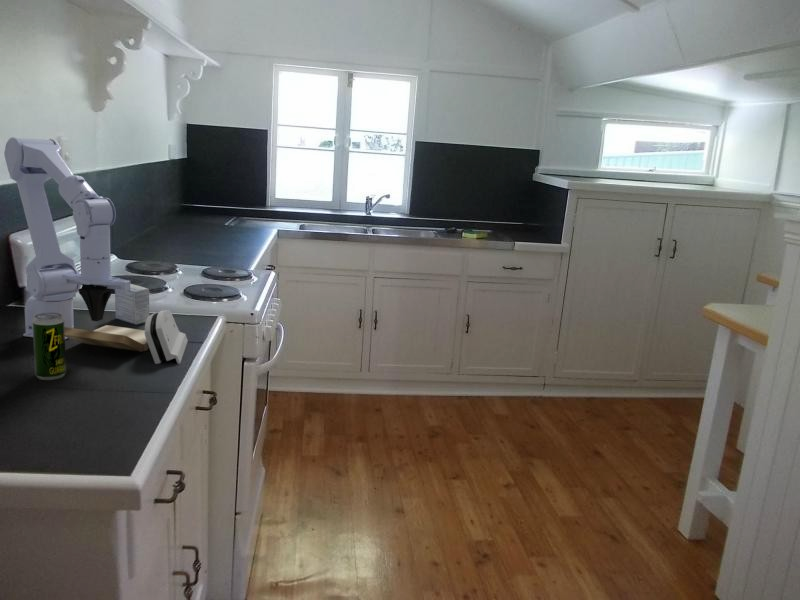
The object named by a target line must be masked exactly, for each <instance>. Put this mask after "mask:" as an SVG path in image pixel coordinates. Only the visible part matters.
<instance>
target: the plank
mask: <svg viewBox="0 0 800 600" xmlns="http://www.w3.org/2000/svg"><path fill="white" fill-rule="evenodd" d="M64 329H65V337H67V338H68V339H70V340H71V341H72V340H73V341H75V342H77V343H80V344H87V345H92V346H93V345H94V346H100V347H106V348H113V349H121V350H127V351H128V350H129V351H134V352H140V353H142V352H143V351H142V349H143V346H144V344H142V343H139V342H137V341H135V340H133V339H131V338H129V337H127V336H124V335H117V334H110V333H103V332H96V331H94V330H89V329H82V328H75V327H74V328H68V327H64Z"/></svg>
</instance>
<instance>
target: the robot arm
mask: <svg viewBox="0 0 800 600" xmlns="http://www.w3.org/2000/svg"><path fill="white" fill-rule="evenodd" d="M3 153H4V159H5V164H6V167H7V170H8V173H9V177H10V179H12V180H13V181H14V182H16V185H17V188H18V191H19V196H20V197H19V198H20V201H21V204H22V207H23V211H24V216H25V220H26V222H27V227H28V231H29V235H30V238H31V242H32V247H33V250H34V253H35V256H34V258H32V260H31V261H29V263H27V265H26V266H25V275H26V288H27V290H28V293H29V294H30V295H31V296H30V297H28V298H27V300H26V302H25V304H24V305H25V306H24V320H25V321H24V323H25V324H24V325H25V333H23V335H22V336H23V337H29V338H33V320H34V316H35V315H37V314H41V313H59V314H62V315H63V319H64V327H68V328H75V327H74V325H75V324H74V298H75V297H76V296H77V293H79V295H80V296H81V298H82V299H83V302H84V303H85V305H86V308H87V311H88V313H89V317H90V320H91V321H92V322H99V321H102V320H103V319H104V313H105V310H106V307H107V304H108V302H109V300H110V297H111V296H112V294H113V292H115V289H117V290H121V291H128V290H130V284H131V280H128V279H127V280H126V279H123V278H118V277H114V276H112V273H111V271H112V270H111V268H112V267H111V265H112V263H111V226H113V225H114V223H115V222H116V218H117V213H116V212H117V210H116V207H115V205H114V202H113V201H112V200H111V199H110V197H109V198H108V197H103V196H99V195H98V193H97V192H95V190H94V189H93V188H92V186H91V185H90V184H89V183H88V182H87V181H86V180H85V178H84V177H83V176H80V175H74V173H73V172H72V170H71V169H70V168H69V166H68V165H67V164H66V162H65V161H64V159H63V150H62V146H60V144H59V142H58V141H57V140H56V139H53V138H49V139H43V138H41V139H40V138H36V139H35V138H20V137H19V138H17V137H14V136H13V137H12V136H11V137H10V138H9V139H8V140H7V141H6V143H5V149H4V152H3ZM51 179H53V181H55V183H56V184H58V187H57V188H58V189H57V190H58V193H59V195H60V196H61V197H62V199H63V200H64V201H65V202H66V203H67V205H68V206H69V207H70V208H71V209H72V217H73V221H74V223H75V227H76V233H77V235H78V236H79V253H80V254H79V255H80V256H79V257H80V272H79V270H78V269H77V266H76V263H75V261H74V259H73V258H72V257H70V256H68V255H67V254H65V253H63V252H61V248H60V244H59V240H58V235H57V232H56V228H55V225H54V221H53V217H52V213H51V208H50V205H49V201H48V198H47V194H46V190H45V183H46V182H47V181H49V180H51ZM68 339H69V338H67V337H65V340H68Z"/></svg>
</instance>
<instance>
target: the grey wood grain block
mask: <svg viewBox="0 0 800 600" xmlns="http://www.w3.org/2000/svg"><path fill="white" fill-rule="evenodd" d="M114 305H115V319H117V320H120V321H123V322H126V323H129V324H133V325H140V324H145V323H146V320H147V318H148V316H150V315H151V314H150V289H149V288H146V287H144V286H141V285H137V284H133V283H130V290H128V291H121V290H117V289H114Z"/></svg>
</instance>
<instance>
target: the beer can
mask: <svg viewBox="0 0 800 600" xmlns="http://www.w3.org/2000/svg"><path fill="white" fill-rule="evenodd" d="M32 338H33V339H32V340H33V357H34V360H33V361H34V375H35V376H36V378H37V379H38V380H40V381H41V380H43V381H53V380H58V379H61V378H63V377H65V375H66V373H67V364H66V363H67V362H66V361H67V360H66V357H67V356H66V339H65V329H64V319H63V315H62V314H59V313H41V314H37V315H35V316H34V320H33V337H32Z"/></svg>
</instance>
